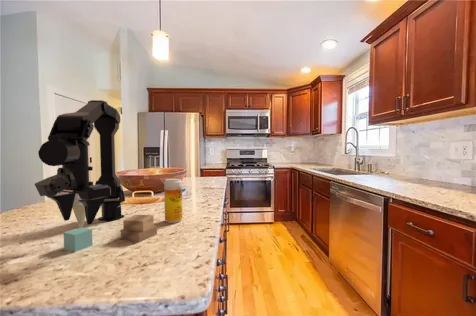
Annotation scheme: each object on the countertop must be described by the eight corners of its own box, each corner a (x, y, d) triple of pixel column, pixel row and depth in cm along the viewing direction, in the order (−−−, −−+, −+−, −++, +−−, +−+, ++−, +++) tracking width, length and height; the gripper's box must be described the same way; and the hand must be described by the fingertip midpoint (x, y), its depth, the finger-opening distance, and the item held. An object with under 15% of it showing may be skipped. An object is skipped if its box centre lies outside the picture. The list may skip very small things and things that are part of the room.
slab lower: (120, 240, 69) (120, 230, 69) (139, 232, 75) (139, 223, 75) (139, 243, 66) (139, 233, 66) (157, 235, 73) (156, 225, 72)
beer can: (177, 224, 82) (177, 180, 81) (161, 223, 83) (160, 180, 82) (185, 218, 88) (184, 178, 87) (170, 218, 89) (169, 178, 88)
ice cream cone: (94, 227, 79) (92, 182, 79) (79, 232, 75) (77, 184, 74) (82, 225, 81) (81, 181, 80) (68, 230, 76) (66, 183, 76)
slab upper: (123, 230, 68) (123, 220, 68) (135, 224, 74) (135, 214, 74) (143, 231, 67) (142, 221, 67) (153, 224, 73) (153, 215, 73)
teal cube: (64, 249, 62) (63, 232, 62) (81, 243, 66) (80, 227, 66) (75, 252, 60) (74, 234, 60) (92, 245, 64) (92, 229, 64)
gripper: (17, 164, 59) (20, 227, 59) (65, 166, 51) (68, 237, 52) (65, 162, 69) (67, 215, 70) (111, 163, 62) (113, 222, 62)
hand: (77, 222), depth 63 cm, fingers open, 9 cm apart
